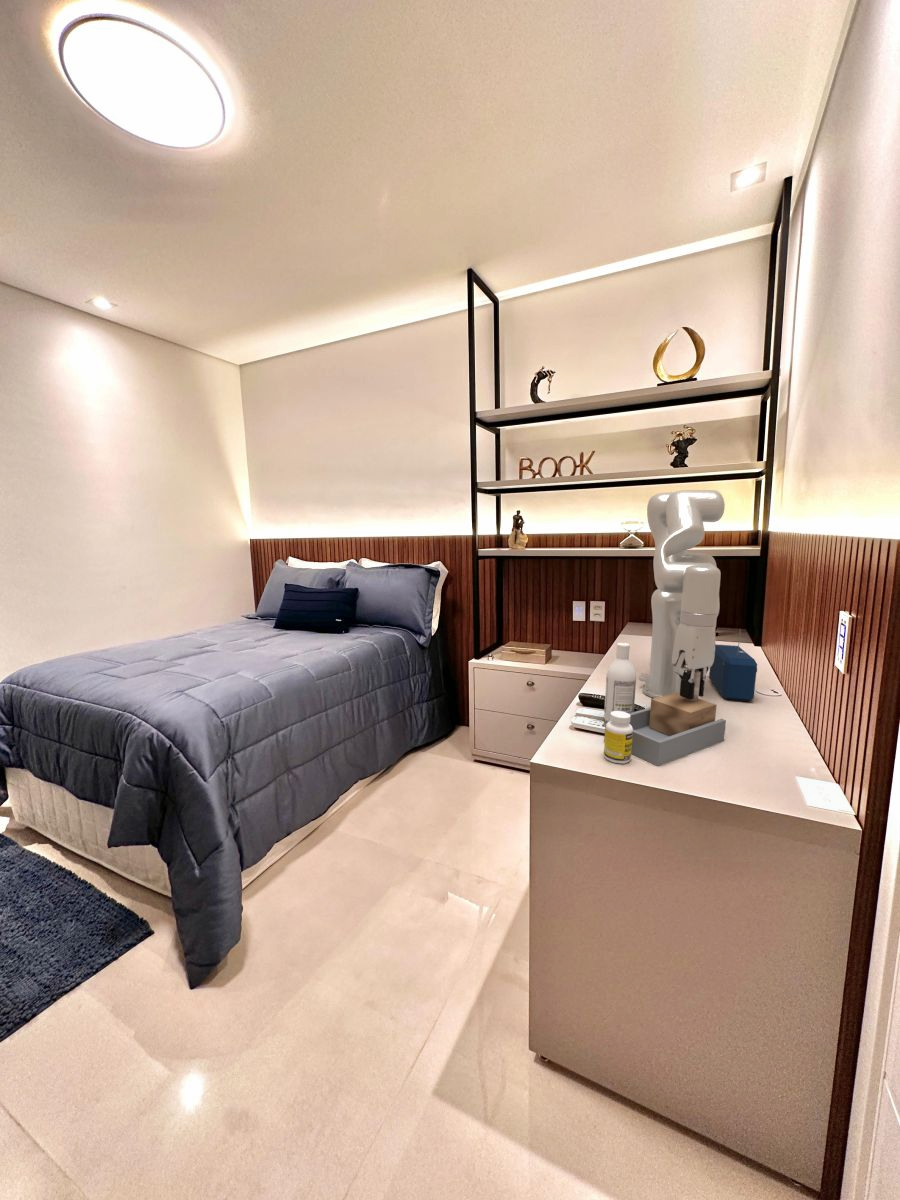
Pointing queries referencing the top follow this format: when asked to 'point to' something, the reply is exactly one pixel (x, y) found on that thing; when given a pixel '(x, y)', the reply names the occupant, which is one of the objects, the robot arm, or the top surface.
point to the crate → (680, 711)
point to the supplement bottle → (618, 738)
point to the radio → (733, 672)
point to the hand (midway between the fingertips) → (691, 695)
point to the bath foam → (620, 683)
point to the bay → (670, 739)
